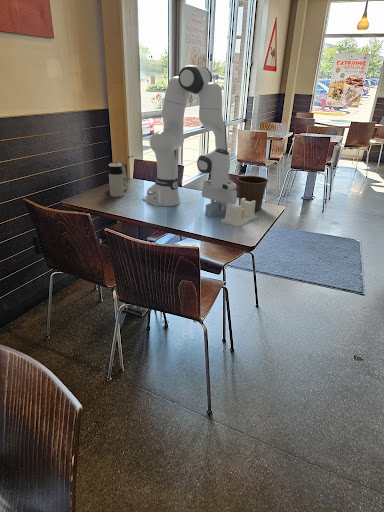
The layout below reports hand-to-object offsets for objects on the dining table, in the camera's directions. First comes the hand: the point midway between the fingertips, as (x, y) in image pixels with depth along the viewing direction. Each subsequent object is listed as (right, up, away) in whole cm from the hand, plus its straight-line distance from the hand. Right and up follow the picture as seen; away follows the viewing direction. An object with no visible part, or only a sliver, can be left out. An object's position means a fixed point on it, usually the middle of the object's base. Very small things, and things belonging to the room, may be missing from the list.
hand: (217, 209), depth 180 cm
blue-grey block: (0, -2, +1) cm, 2 cm away
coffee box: (-59, +17, +37) cm, 71 cm away
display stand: (+10, -6, -7) cm, 14 cm away
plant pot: (+18, +2, +11) cm, 21 cm away
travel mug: (-58, +11, +24) cm, 64 cm away
